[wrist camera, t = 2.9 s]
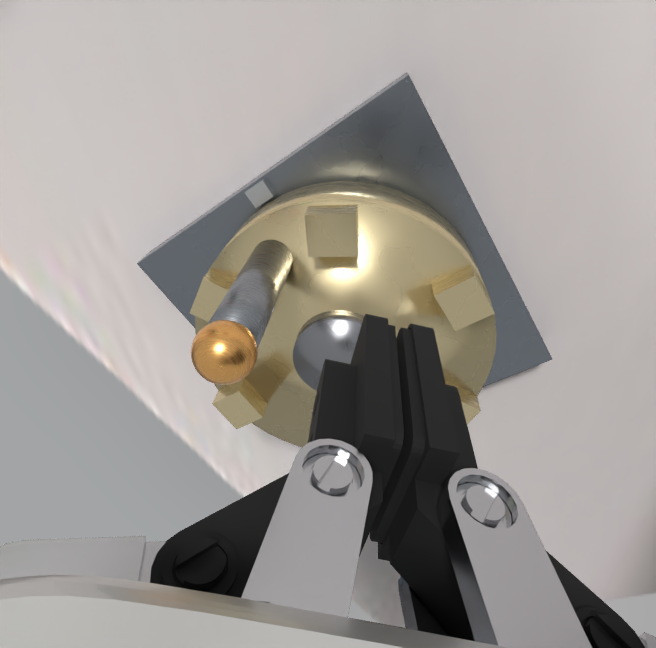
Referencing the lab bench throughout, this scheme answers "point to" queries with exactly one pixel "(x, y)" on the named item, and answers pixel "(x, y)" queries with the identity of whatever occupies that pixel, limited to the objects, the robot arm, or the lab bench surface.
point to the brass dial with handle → (334, 299)
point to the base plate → (371, 167)
